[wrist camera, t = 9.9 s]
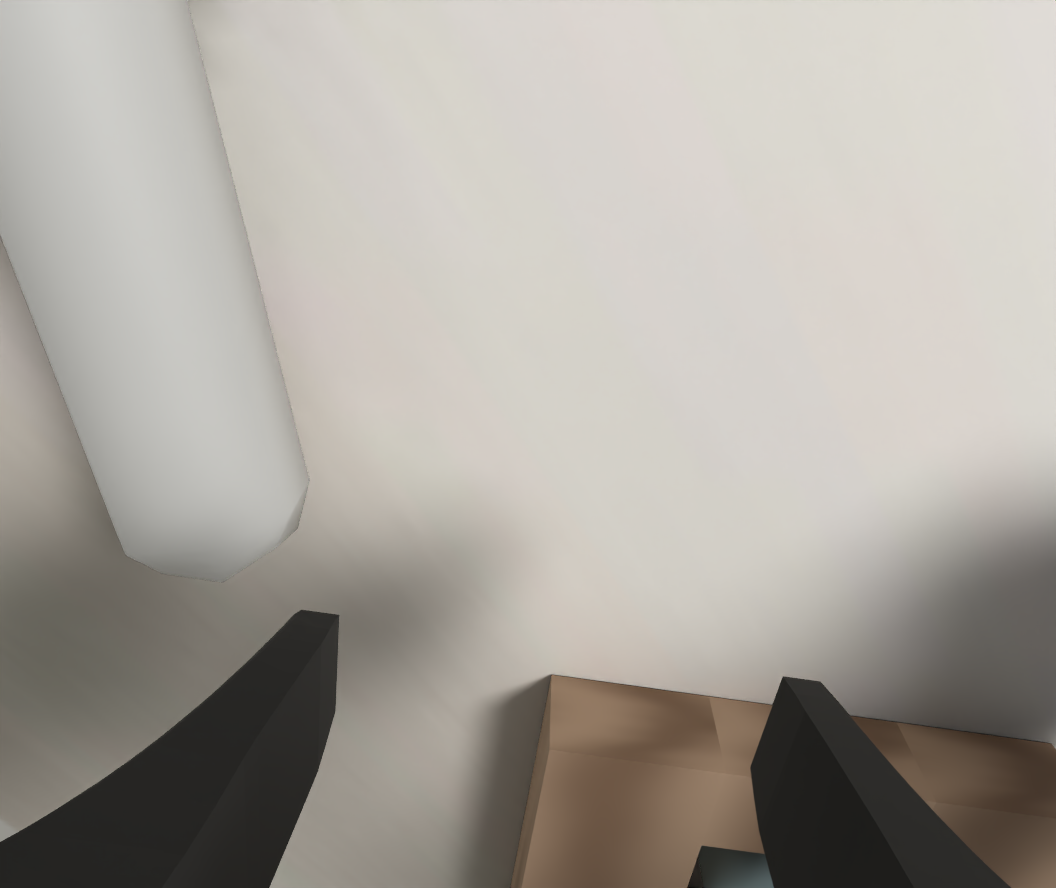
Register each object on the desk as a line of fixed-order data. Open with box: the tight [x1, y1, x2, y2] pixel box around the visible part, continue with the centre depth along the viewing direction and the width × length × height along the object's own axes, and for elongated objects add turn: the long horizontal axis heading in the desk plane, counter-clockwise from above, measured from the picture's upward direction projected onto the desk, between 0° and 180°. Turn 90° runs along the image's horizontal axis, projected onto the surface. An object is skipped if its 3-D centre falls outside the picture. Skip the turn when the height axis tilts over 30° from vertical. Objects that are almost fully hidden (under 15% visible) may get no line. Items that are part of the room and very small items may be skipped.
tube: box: [0, 0, 310, 582], centre depth 15 cm, size 5×5×25 cm
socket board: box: [510, 675, 1056, 888], centre depth 26 cm, size 16×12×3 cm
